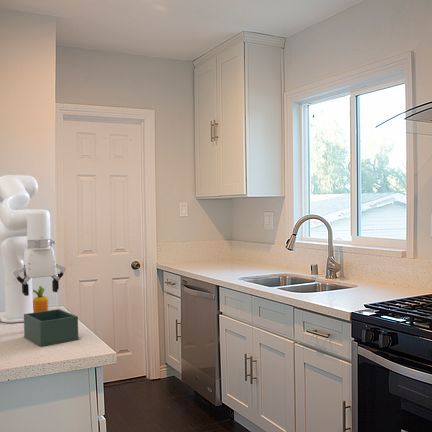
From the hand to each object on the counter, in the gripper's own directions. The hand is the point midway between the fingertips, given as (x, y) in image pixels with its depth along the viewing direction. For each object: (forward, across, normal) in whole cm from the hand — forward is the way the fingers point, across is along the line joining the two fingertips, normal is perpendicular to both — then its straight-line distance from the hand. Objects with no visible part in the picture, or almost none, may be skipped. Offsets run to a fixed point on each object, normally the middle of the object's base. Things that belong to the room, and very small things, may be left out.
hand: (40, 293), depth 189 cm
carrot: (+13, 0, -1) cm, 13 cm away
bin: (+13, +2, +15) cm, 20 cm away
